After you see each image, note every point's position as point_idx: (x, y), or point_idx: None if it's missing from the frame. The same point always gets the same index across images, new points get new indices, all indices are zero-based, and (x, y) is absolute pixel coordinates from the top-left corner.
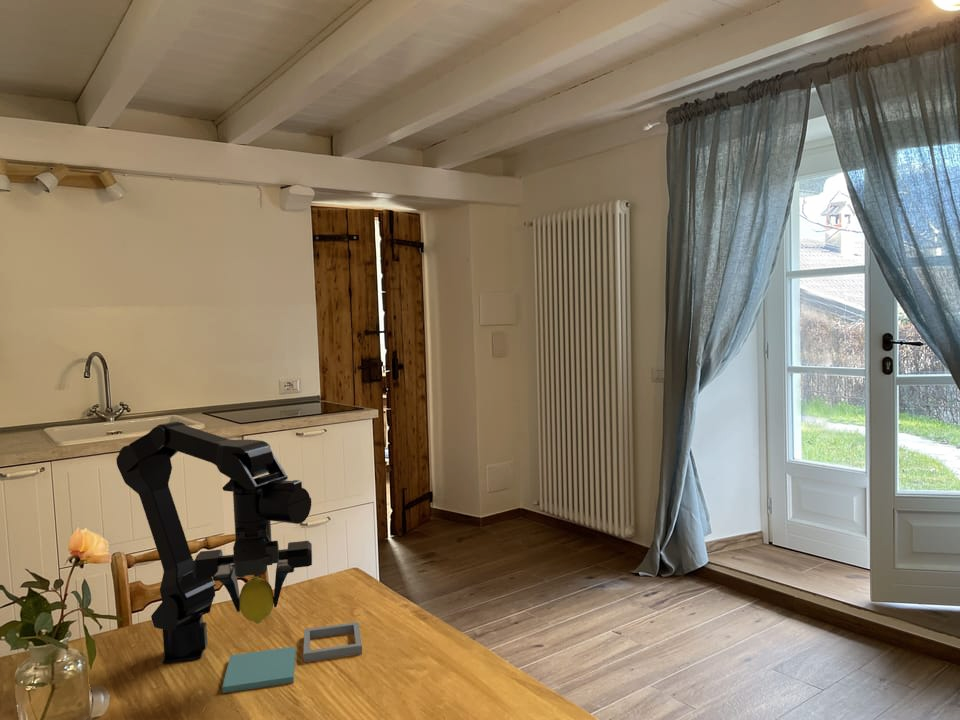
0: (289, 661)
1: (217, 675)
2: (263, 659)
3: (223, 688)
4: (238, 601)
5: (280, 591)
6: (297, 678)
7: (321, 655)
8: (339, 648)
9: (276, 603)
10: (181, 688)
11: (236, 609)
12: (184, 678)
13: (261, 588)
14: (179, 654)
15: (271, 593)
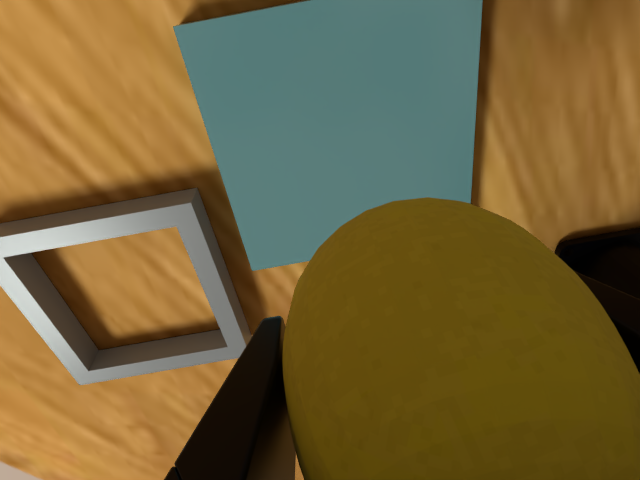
0: (238, 166)
1: (500, 129)
2: (346, 193)
3: None
4: (614, 323)
5: (190, 439)
6: (176, 62)
7: (128, 206)
8: (54, 229)
9: (257, 337)
10: (630, 43)
11: (582, 276)
12: (613, 122)
13: (413, 460)
14: (634, 247)
15: (292, 414)
